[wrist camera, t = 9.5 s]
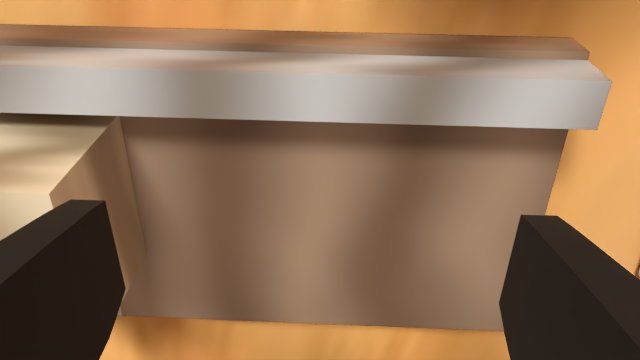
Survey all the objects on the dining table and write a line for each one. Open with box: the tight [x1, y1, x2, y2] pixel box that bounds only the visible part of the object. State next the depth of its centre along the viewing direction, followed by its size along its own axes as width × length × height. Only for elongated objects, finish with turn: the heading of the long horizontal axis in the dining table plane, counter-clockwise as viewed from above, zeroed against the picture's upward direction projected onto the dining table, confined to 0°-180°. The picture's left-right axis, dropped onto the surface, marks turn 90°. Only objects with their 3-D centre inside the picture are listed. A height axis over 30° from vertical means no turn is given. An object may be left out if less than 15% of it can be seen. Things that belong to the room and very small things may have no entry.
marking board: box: [0, 24, 612, 331], centre depth 20 cm, size 22×12×3 cm, turn 89°
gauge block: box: [0, 113, 146, 303], centre depth 18 cm, size 4×8×5 cm, turn 179°
